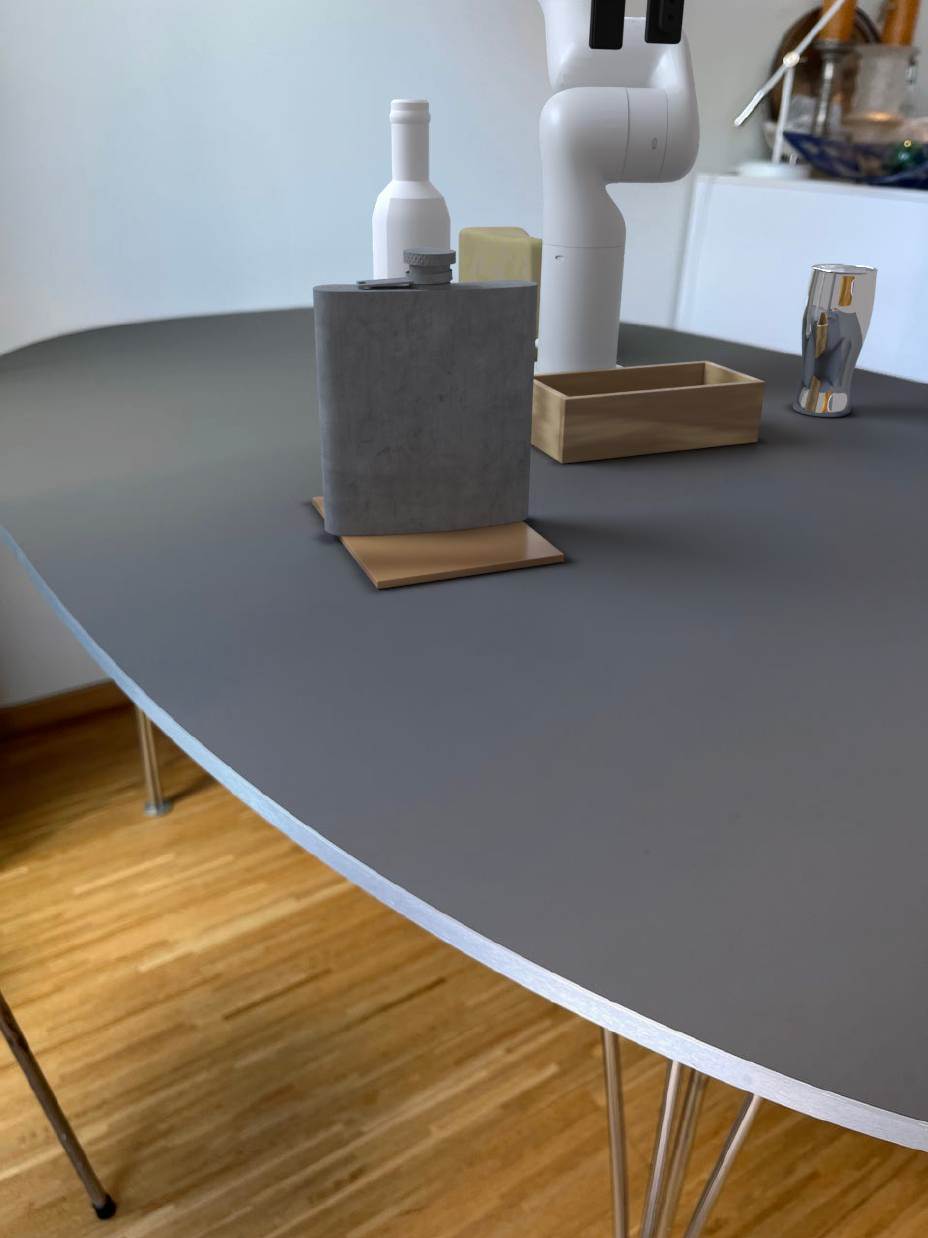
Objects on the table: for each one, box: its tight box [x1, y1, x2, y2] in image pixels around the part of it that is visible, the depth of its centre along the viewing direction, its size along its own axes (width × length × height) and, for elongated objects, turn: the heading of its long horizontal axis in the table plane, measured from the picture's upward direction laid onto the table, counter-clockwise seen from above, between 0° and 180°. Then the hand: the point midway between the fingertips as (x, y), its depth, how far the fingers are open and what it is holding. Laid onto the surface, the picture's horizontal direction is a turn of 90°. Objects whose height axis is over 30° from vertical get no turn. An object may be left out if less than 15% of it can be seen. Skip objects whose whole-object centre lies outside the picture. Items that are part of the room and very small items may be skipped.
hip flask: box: [312, 248, 538, 536], centre depth 75 cm, size 16×4×20 cm, turn 104°
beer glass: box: [792, 263, 879, 418], centre depth 110 cm, size 7×7×15 cm
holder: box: [531, 360, 767, 464], centre depth 101 cm, size 10×22×6 cm, turn 111°
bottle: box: [371, 98, 451, 280], centre depth 103 cm, size 8×8×30 cm
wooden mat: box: [311, 495, 565, 590], centre depth 79 cm, size 18×14×1 cm
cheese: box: [458, 226, 543, 362], centre depth 139 cm, size 22×10×15 cm, turn 14°
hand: (632, 46), depth 90 cm, fingers open, 9 cm apart
